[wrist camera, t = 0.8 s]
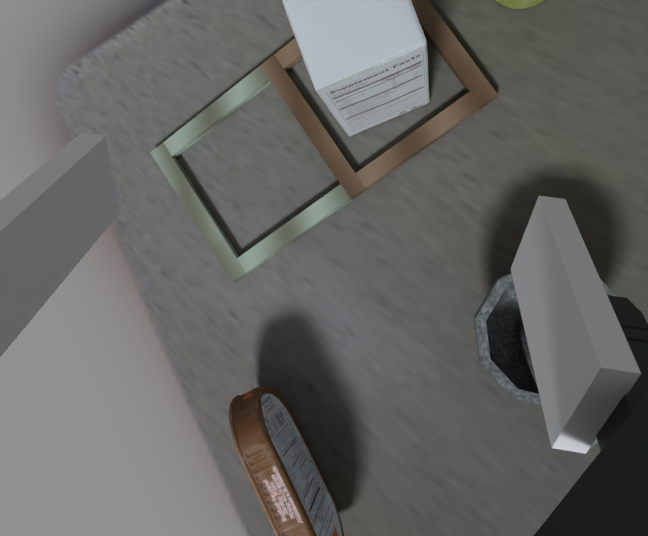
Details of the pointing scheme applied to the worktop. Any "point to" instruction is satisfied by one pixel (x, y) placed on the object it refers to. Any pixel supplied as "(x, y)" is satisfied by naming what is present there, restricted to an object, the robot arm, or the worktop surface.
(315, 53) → the supplement box
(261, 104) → the worktop surface
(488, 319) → the mortar and pestle
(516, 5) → the plant pot
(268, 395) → the tin
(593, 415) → the robot arm
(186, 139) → the metal double frame
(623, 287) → the worktop surface
